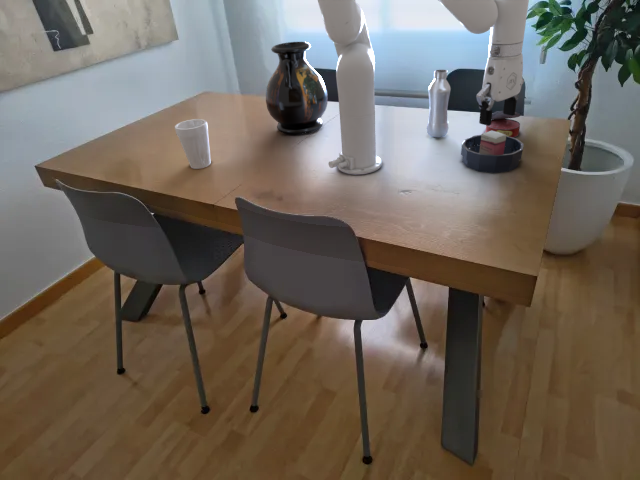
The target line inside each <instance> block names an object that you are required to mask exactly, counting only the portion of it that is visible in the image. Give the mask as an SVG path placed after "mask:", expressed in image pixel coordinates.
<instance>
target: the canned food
mask: <svg viewBox="0 0 640 480" xmlns="http://www.w3.org/2000/svg"><path fill="white" fill-rule="evenodd" d="M520 117H521V114H520V113H518V112H517V111H515V115H513V116H511V115H506V114H504V113H503V110H496V111H493V112H492V120H491V125H489V126H487V125H485V131H484V133H486V132H489V131H495V132H499V133H502V134H505V135H506V136H509V137H513V138H516V137H518V136H519V134H520V128H521V122H520V121H518V120H516V119H517V118H520Z"/></svg>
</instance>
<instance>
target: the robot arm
mask: <svg viewBox="0 0 640 480" xmlns="http://www.w3.org/2000/svg"><path fill="white" fill-rule="evenodd" d="M437 1H438V2H439V3H440V4H441V5H442V6H443V7H444V8H445V9H446V10H447V11H448V12H449V13H450V14H451V15H452V16H453V17H454V18H455V19H456V20H457V21H458V22H459V23H460V25H462V27H463V28H464V29H466V31H467V32H469V33H471V34H473V35H481V34H484V33H487V32H488V31H490V33H489V34H490V35H489V44H488V55H487V61H486V64H485V69H484V74H483V79H482V87H481V89H480V90H479V91H478V93H477V94H476V96H475V98H476V101H477V106H478V109H479V110H480V112H479V121H478V123H479V124H480V125H484V126H486V125H487V126H489V125H491V120H492V113H493V109H492V108H493V106H494V104H495V102H499V103H500V102H501V101H504V103H503V110H502V111H503V113H504V114H506V115H511V116H513V115H515V112H516V109H517V104H518V103H517V101H518V100H519V98H520V96H519V94H520V93H521V91H522V87H523V84H524V82H525V79H524V78H523V72H524V71H523V69H524V56H523V47H524V38H525V31H526V25H527V17H528V9H529V2H530V0H437ZM317 3H318V6H319V10H320V13H321V16H322V20H323V21H322V22H323V25H324V29H325V32H326V35H327V37H328V38H329V39H330V40H331V42H333V45H334V49H335V52H336V55H337V59H338V61H337V63H336V69H335V70H336V71H335V78H336V88H337V96H338V110H339V112H338V113H339V124H340V139H341V140H340V141H341V152H339V153H338V157H337V158H336V159H332V160H330V161H328V167H329V168H330V169H334V168H336V167H337V169H338V171H340V172H342V173H344V174H348V175H365V174H371V173H373V172H376V171H378V170H379V169H380V168H381V167H382V165H383V163H382V159H381V158H380V157H379V156H377V153H376V152H377V150H376V149H377V147H376V146H377V143H376V142H377V141H376V136H377V135H376V98H375V97H376V95H375V93H376V91H375V75H376V73H375V72H376V71H375V67H376V65H375V64H376V62H375V54H374V50H373V46H372V41H371V38H370V35H369V30H368V27H367V26H368V25H367V22H366V18H365V15H364V11H363V9H362V7H361V6H360V4H358V3H357V1H356V0H317Z"/></svg>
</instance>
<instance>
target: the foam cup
mask: <svg viewBox="0 0 640 480" xmlns="http://www.w3.org/2000/svg"><path fill="white" fill-rule="evenodd" d="M174 131H175V134H176V136H177V138H178V141H179V142H180V144H181V145H180V146H181V147H182V149H183V152H184V154H185V158H186V160H187V162H188V164H189V166H190V168H191V169H194V170H198V169H204V168H207V167H209V166H210V165H211V163H212V162H211V161H212V159H211V150H210V149H211V148H210V139H209V138H210V137H209V125H208V121H207V120H206V119H202V118H193V119H187V120H183V121H180V122H178V123H176V124H175V125H174Z"/></svg>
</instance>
